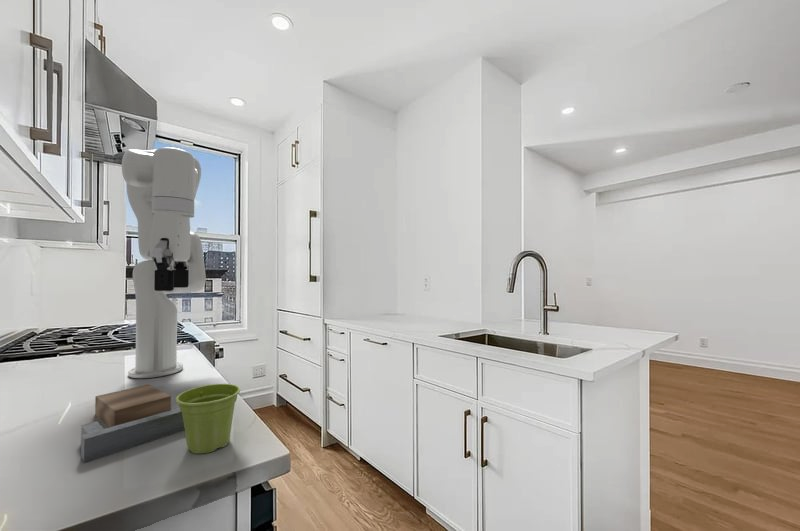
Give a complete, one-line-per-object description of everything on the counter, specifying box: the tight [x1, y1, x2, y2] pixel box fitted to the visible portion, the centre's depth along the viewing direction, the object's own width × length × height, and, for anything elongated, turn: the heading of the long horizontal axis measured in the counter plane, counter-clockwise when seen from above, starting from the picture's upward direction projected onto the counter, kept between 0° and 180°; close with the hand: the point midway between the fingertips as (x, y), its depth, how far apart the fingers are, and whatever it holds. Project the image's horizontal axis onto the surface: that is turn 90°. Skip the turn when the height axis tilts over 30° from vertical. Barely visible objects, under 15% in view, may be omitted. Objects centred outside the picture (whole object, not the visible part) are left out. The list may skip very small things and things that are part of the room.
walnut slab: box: [94, 384, 172, 428], centre depth 70 cm, size 12×9×4 cm
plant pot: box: [175, 383, 241, 455], centre depth 58 cm, size 9×9×9 cm
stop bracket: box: [80, 407, 185, 463], centre depth 63 cm, size 8×20×4 cm, turn 142°
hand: (172, 288), depth 74 cm, fingers open, 9 cm apart
